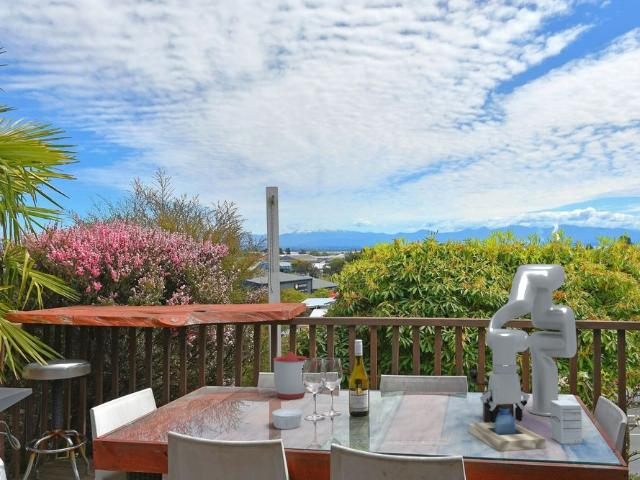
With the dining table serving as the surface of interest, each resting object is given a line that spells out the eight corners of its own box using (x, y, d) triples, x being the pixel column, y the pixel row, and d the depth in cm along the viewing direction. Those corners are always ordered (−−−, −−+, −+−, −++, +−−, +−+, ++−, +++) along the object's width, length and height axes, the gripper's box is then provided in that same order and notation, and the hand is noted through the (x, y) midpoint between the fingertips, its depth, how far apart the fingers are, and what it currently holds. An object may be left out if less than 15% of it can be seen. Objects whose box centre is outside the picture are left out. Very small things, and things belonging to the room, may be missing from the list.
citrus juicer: (312, 400, 264) (311, 353, 264) (271, 400, 264) (271, 354, 265) (313, 393, 279) (312, 348, 280) (274, 393, 280) (274, 349, 280)
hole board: (511, 429, 216) (511, 421, 217) (545, 448, 195) (545, 438, 195) (469, 432, 213) (468, 423, 214) (498, 451, 192) (498, 441, 192)
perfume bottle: (515, 438, 206) (514, 402, 207) (515, 443, 200) (513, 406, 201) (496, 437, 208) (494, 401, 208) (495, 442, 202) (494, 405, 203)
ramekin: (279, 432, 215) (279, 417, 215) (266, 424, 225) (266, 410, 225) (307, 428, 220) (307, 413, 221) (294, 421, 230) (294, 406, 231)
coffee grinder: (509, 417, 234) (509, 369, 235) (514, 424, 223) (513, 374, 224) (468, 415, 237) (467, 368, 237) (470, 423, 226) (470, 374, 226)
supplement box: (550, 438, 206) (549, 400, 207) (571, 437, 207) (570, 399, 207) (561, 444, 199) (560, 405, 199) (582, 443, 200) (582, 404, 200)
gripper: (522, 366, 210) (523, 417, 210) (475, 368, 207) (476, 419, 207) (534, 370, 203) (535, 422, 202) (485, 372, 200) (486, 425, 199)
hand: (505, 421), depth 204 cm, fingers open, 9 cm apart
